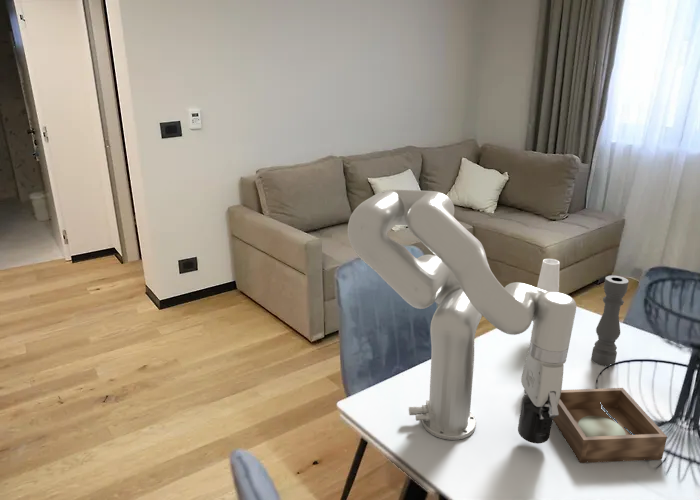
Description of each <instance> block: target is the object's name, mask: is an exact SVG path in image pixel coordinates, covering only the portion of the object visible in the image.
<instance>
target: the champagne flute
mask: <svg viewBox="0 0 700 500" xmlns="http://www.w3.org/2000/svg"><path fill="white" fill-rule="evenodd" d="M560 265H561V263H560V261H559V260H558V259H555V258H544V259H543V260H542V264H541V267H540V271H539V276H538V280H537V286H536V288H539V289H542V290H545V291H548V292H560V267H561V266H560ZM530 333H531V334H532V330H531V331H530Z"/></svg>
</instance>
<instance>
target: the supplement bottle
mask: <svg viewBox="0 0 700 500" xmlns="http://www.w3.org/2000/svg"><path fill="white" fill-rule="evenodd" d="M524 395H525V396H524ZM524 395H523V397H522V399H521V404H520V411H519V416H518V424H517V433H518V435H519V436H520V437H521V438H522V439H523V440H524V441H526V442H529V443H532V444H543V443H546V442H547V441H548V440H549V439H550V437H551V431H552V426H553V419H552V423H551V428H550V432H549V433H535V431H534V429H535V423H536V418H537V416H539V407H536V406H535V405H534V404H533V402H532V401H531V399H530V398H529V396H528V394H524ZM545 403H548V401H546V402H545ZM548 411H549V407H543V413H544V412H548Z"/></svg>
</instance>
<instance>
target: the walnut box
mask: <svg viewBox="0 0 700 500" xmlns="http://www.w3.org/2000/svg"><path fill="white" fill-rule="evenodd" d="M600 402H601V404H602V405H603V407H604V408H605V409H606V410H607V411H608V413H609V414H610V415H611V416H612V417H613V418H615V419H616V420H617V422H618V423H616V422H615V421H614V420H613V419H612V418H610V417H609V416H608V415H607V414H606V412H604V411H603V410H602V409H601V404H600ZM557 408H558V416H556V417H555V418H554V419H553V421H552V423H554V424H555V427H556V428H557V429H558V431H559V433H560V434H561V436H562V437H563V439H564V441H565V442H566V443H567V445H568V447H569V448H570V450H571V451H572V453H573V455H574V456H575V458H576V459H577V461H578V462H579V464H585V463H586V464H592V463H616V462H618V463H619V462H637V461H638V462H639V461H662V459H663V455H664V452H665V447H666V444H667V439H668V436H667V435H666V434H665V432H663V430H662V429H661V428H660V427H659V426H658V424H656V422H655V421H654V420H653V419H652V418H651V417H650V416H649V415H648V414H647V413H646V411H644V410H643V408H642V407H641V406H640V405H639V404H638V403H637V402H636V401H635V400H634V399H633V397H632V396H631V395H630V394H629V393H628V392H627V390H625V388H624V387H611V388H608V387H607V388H606V387H605V388H582V389H561V395H560V399H559V403H558V405H557ZM624 427H625V428H627V429H628V430H629V431H631V432H632V433H633V434H635V435H632V434H630V433H629V432H628V431H627V430H626V429H625V428H624Z"/></svg>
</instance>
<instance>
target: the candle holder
mask: <svg viewBox="0 0 700 500" xmlns="http://www.w3.org/2000/svg"><path fill="white" fill-rule="evenodd" d="M628 285H629V279H627V278H626V277H623V276H620V275H608V276H605V278H604V283H603V291H604V294H605V296H604V297H603V298H602V301H603V303H604V308H603V313H602V315H601V317H600V319H599V321H598V324H597V327H596V328H595V333H596V334H597V340H596V341H595V342H594V346H592V347H593V348H592V351H591V352H592V353H591V358H590V359H591V361H592V362H593V363H595V364H597V365H598V366H601V367H610V366H609V365H610V364H614V363H615V364H616V359H617V356H618V355H617V354H618V352H617V345H616V344H615V342H616V340H619V337H620V335H621V326H620V310H621V306H623V305H624V303H625V302H624V300H623V298H624V296H625V295H626V294H627V292H628V287H629V286H628ZM615 364H614V365H615Z"/></svg>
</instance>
